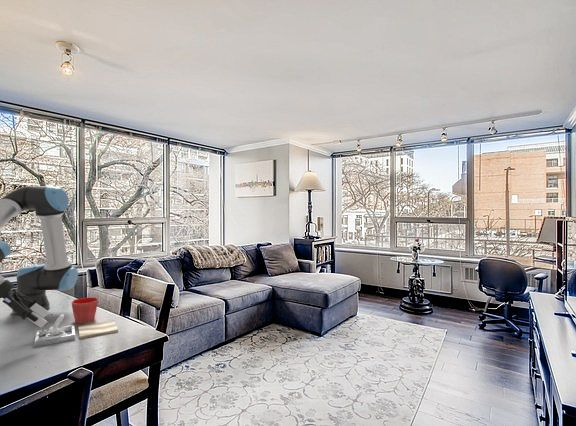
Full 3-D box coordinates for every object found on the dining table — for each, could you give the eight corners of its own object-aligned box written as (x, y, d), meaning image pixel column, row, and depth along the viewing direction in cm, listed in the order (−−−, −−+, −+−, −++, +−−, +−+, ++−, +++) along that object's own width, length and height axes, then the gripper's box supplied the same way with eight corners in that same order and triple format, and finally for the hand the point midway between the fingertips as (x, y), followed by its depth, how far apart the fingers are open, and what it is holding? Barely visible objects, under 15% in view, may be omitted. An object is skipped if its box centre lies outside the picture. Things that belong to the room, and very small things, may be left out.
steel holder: (36, 335, 133) (36, 330, 133) (74, 329, 140) (74, 324, 140) (34, 346, 122) (34, 341, 122) (75, 339, 130) (75, 334, 130)
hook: (69, 329, 127) (53, 320, 126) (54, 351, 129) (37, 342, 127) (79, 318, 135) (64, 310, 133) (65, 339, 136) (49, 331, 135)
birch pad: (78, 328, 142) (78, 326, 142) (113, 322, 150) (113, 320, 150) (79, 338, 130) (79, 336, 130) (118, 331, 138) (118, 329, 138)
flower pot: (103, 318, 155) (103, 298, 155) (82, 325, 145) (82, 304, 145) (87, 315, 159) (87, 296, 158) (65, 322, 148) (65, 302, 148)
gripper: (-7, 287, 129) (39, 318, 137) (-22, 302, 108) (34, 337, 117) (10, 273, 132) (54, 304, 140) (-1, 285, 111) (52, 320, 120)
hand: (45, 319), depth 129 cm, fingers open, 13 cm apart
